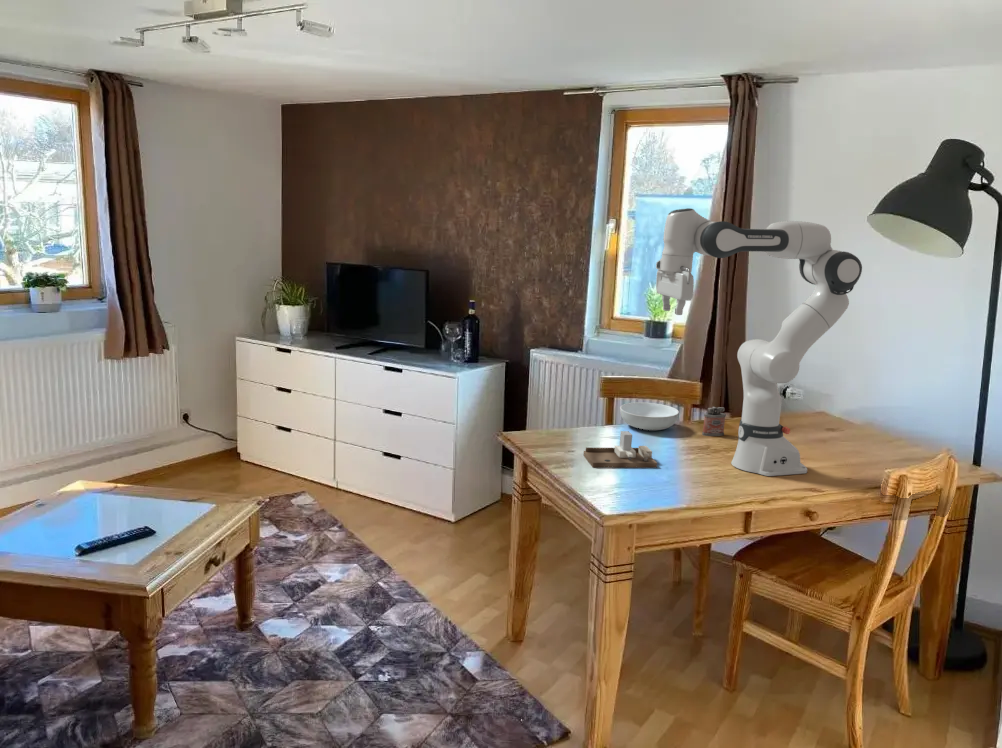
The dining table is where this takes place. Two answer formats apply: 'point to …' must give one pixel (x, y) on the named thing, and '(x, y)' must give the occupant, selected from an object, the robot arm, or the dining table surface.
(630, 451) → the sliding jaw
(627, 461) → the brown board with blocks
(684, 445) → the dining table surface
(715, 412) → the lighter
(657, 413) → the serving bowl
